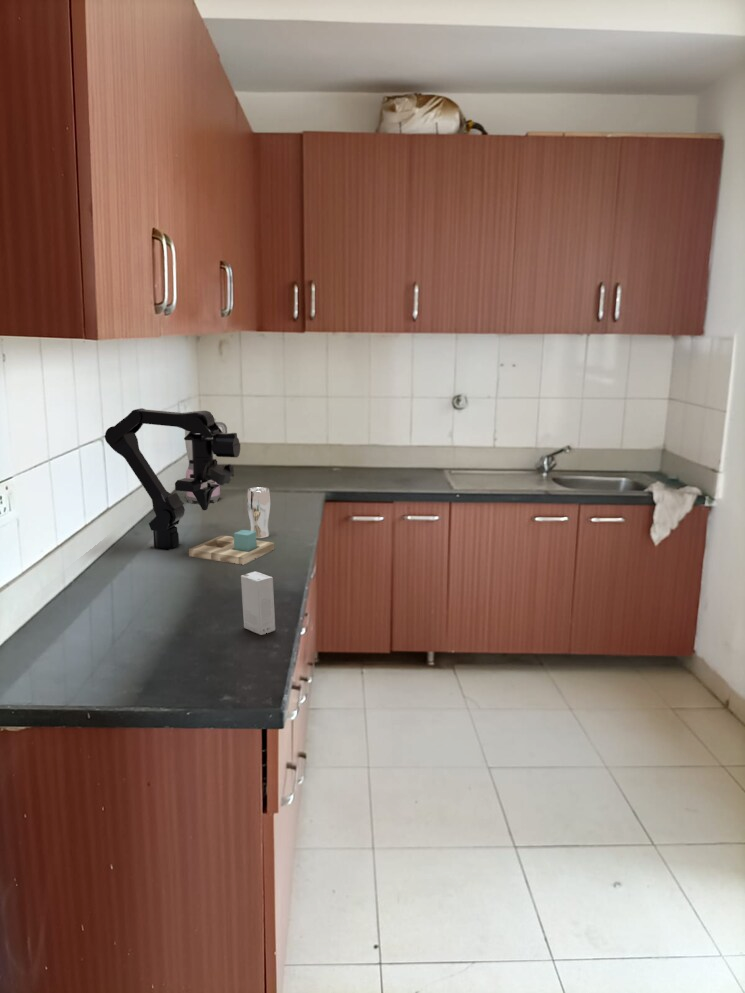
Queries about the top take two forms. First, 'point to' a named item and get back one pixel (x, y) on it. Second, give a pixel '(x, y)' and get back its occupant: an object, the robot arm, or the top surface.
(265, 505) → the beer glass
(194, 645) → the top surface
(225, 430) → the blender
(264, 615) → the skincare box
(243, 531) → the teal block
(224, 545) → the pocket board
